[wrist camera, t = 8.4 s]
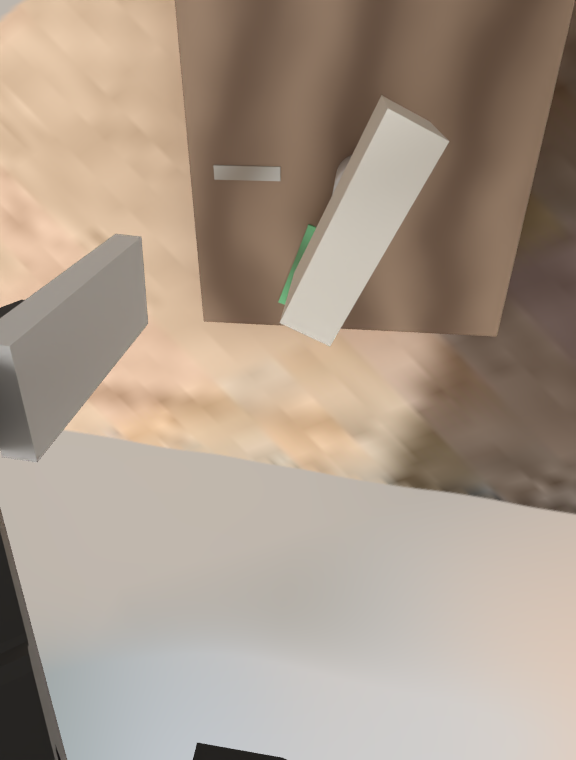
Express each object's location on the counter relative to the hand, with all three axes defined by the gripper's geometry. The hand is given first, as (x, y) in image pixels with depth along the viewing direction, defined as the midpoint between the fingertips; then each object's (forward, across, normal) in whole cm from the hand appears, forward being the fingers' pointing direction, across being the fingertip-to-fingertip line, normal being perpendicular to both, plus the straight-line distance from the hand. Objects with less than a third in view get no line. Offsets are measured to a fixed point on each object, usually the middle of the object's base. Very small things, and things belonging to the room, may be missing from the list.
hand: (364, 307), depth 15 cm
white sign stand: (+19, -1, -2) cm, 19 cm away
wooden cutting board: (+21, -1, 0) cm, 21 cm away
